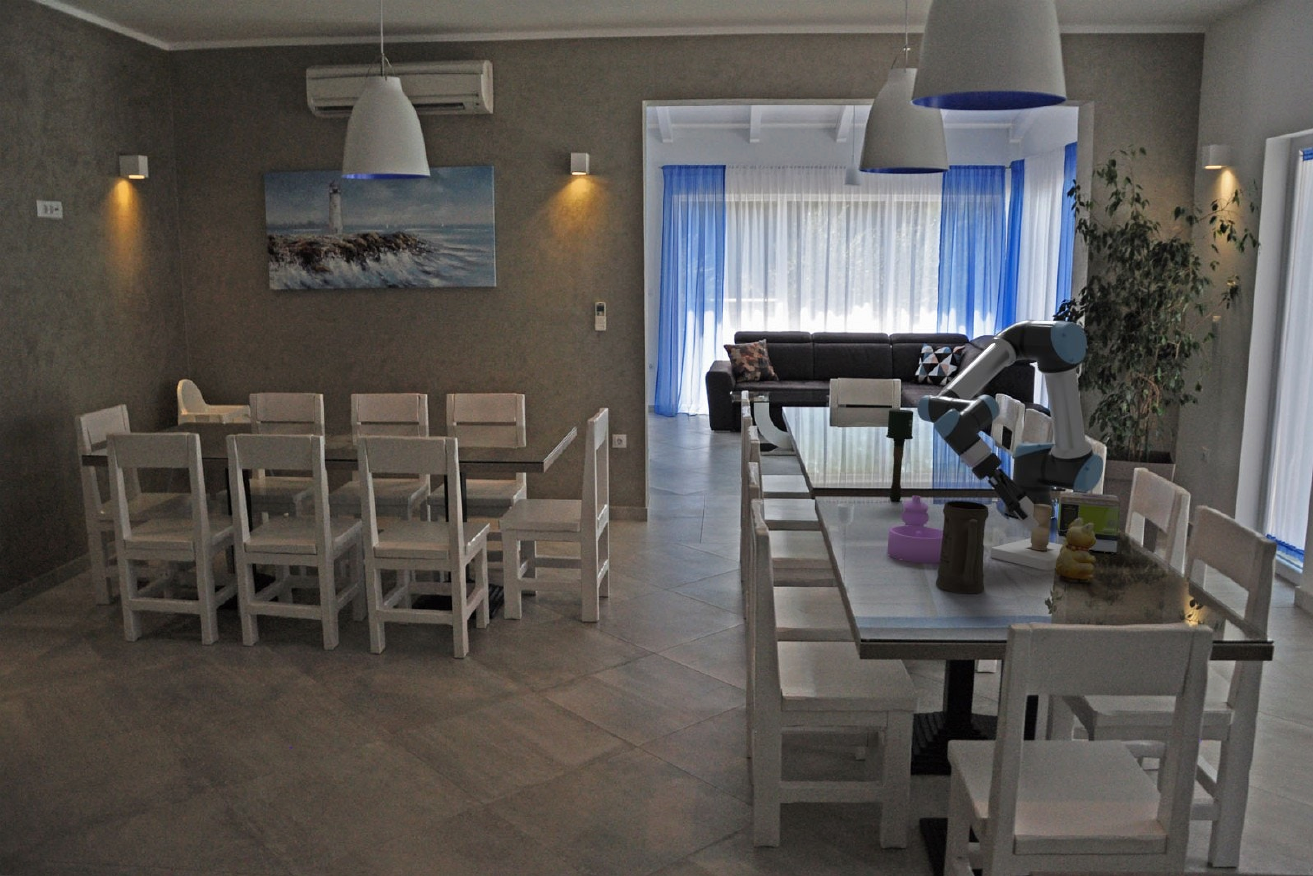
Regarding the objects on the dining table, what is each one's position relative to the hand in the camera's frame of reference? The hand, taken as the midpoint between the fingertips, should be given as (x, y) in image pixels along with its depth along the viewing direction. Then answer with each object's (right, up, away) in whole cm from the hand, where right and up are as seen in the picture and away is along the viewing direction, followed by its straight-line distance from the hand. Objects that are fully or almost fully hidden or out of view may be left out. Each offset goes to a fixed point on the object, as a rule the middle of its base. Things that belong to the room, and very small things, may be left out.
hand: (1037, 523), depth 267 cm
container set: (-30, -8, +4) cm, 32 cm away
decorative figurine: (+1, -12, -19) cm, 23 cm away
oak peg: (+1, -9, +1) cm, 9 cm away
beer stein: (-29, -13, -32) cm, 45 cm away
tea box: (+19, -8, +15) cm, 26 cm away
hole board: (+1, -9, +1) cm, 9 cm away
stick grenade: (-20, +1, +73) cm, 76 cm away
